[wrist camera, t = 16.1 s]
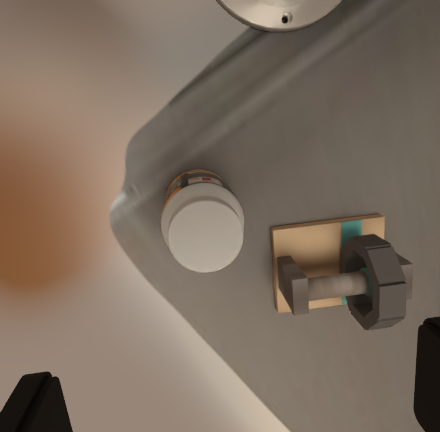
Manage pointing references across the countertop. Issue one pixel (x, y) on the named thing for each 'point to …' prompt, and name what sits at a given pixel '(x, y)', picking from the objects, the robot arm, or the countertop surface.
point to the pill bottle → (202, 221)
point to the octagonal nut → (375, 281)
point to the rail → (322, 263)
